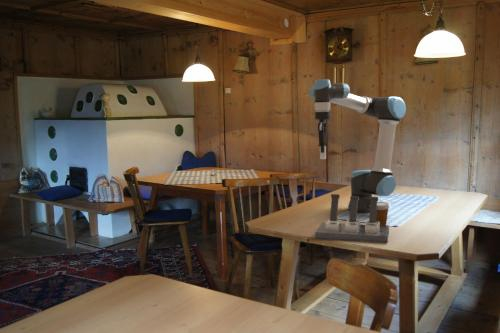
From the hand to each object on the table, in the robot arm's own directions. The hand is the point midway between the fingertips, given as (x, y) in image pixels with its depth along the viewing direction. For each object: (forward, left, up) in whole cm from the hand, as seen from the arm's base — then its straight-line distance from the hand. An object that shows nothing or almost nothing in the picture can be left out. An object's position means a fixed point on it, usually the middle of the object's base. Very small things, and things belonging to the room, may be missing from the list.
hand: (323, 158), depth 236 cm
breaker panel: (+13, +16, -34) cm, 40 cm away
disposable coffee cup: (-4, +27, -35) cm, 44 cm away
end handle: (+13, +25, -27) cm, 39 cm away
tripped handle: (+13, +7, -27) cm, 31 cm away
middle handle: (+13, +16, -27) cm, 34 cm away
